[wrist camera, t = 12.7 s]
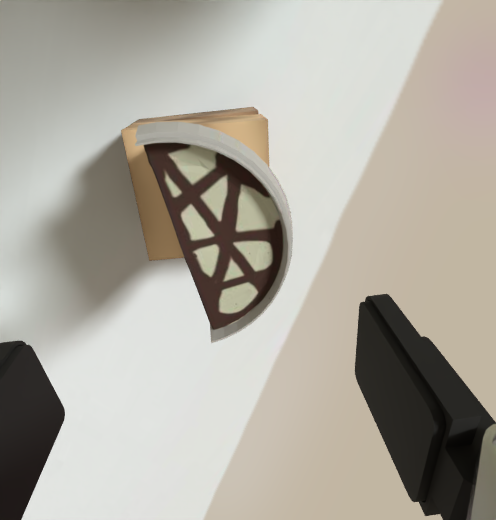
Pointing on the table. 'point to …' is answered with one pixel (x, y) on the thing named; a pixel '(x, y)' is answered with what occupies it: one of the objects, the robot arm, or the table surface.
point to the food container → (222, 219)
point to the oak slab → (147, 189)
